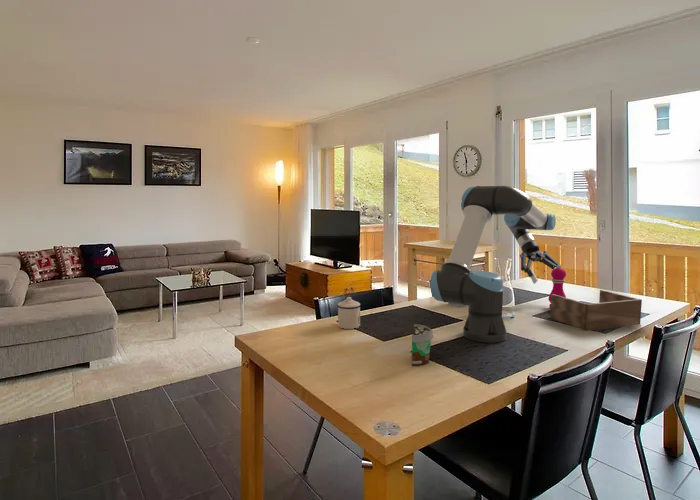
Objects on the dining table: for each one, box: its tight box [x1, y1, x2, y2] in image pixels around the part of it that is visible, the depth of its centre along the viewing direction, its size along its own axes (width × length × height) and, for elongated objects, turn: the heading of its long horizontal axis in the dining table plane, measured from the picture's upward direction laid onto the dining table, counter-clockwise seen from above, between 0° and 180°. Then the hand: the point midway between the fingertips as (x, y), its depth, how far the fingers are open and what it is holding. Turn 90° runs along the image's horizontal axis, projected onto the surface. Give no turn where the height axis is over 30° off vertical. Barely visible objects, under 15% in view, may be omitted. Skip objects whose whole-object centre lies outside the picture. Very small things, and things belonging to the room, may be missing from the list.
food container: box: [411, 323, 434, 367], centre depth 137 cm, size 12×6×10 cm, turn 168°
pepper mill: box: [548, 264, 567, 310], centre depth 197 cm, size 7×7×20 cm
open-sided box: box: [549, 289, 643, 332], centre depth 178 cm, size 19×26×10 cm
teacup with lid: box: [337, 296, 362, 330], centre depth 175 cm, size 12×9×12 cm
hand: (548, 281), depth 204 cm, fingers open, 13 cm apart
